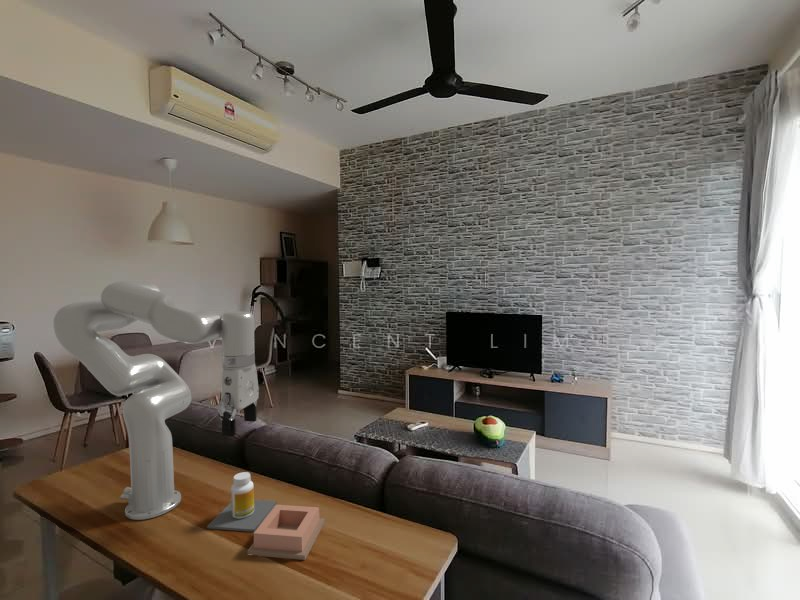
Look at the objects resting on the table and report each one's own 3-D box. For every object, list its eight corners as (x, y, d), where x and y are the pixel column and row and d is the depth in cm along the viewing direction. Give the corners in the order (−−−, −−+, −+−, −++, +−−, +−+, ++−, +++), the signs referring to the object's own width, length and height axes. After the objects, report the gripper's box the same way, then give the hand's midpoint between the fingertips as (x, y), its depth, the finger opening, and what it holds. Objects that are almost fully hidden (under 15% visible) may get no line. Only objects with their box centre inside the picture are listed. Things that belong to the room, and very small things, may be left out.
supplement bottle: (259, 510, 100) (257, 473, 99) (240, 522, 95) (239, 483, 95) (245, 504, 103) (244, 468, 102) (227, 515, 98) (225, 477, 98)
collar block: (247, 555, 84) (246, 535, 84) (274, 518, 97) (274, 501, 97) (304, 560, 83) (304, 540, 83) (324, 522, 96) (324, 505, 95)
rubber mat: (207, 528, 94) (207, 525, 94) (234, 500, 106) (234, 498, 106) (254, 532, 92) (254, 529, 92) (276, 503, 104) (276, 501, 104)
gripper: (233, 369, 88) (234, 442, 89) (269, 354, 106) (270, 416, 106) (202, 368, 90) (204, 441, 90) (243, 354, 107) (244, 415, 107)
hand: (240, 427), depth 98 cm, fingers open, 9 cm apart
